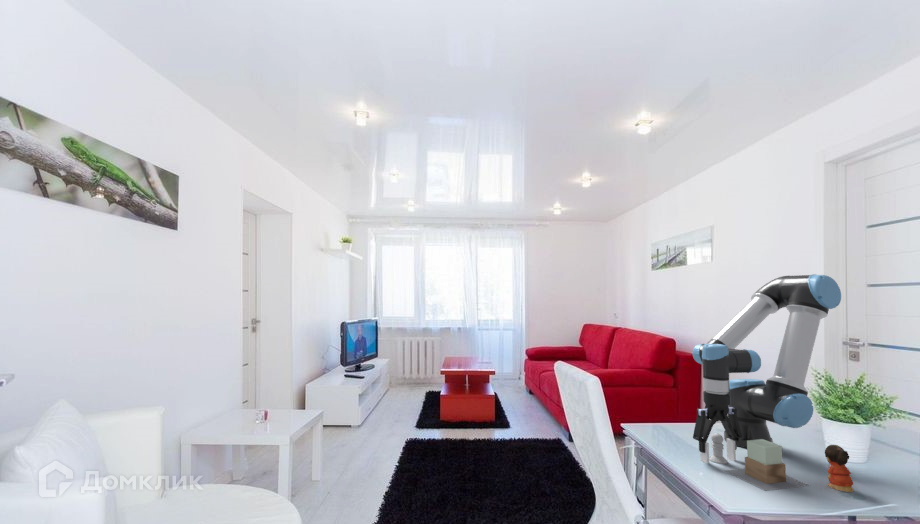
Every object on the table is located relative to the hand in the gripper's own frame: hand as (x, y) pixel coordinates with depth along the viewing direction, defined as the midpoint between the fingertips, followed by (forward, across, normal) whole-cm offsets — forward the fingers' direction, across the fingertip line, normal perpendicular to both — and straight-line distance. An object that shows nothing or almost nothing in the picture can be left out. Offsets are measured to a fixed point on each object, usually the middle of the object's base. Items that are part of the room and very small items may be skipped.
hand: (718, 461), depth 141 cm
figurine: (0, -18, +24) cm, 30 cm away
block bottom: (0, -3, +14) cm, 14 cm away
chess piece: (0, 0, 0) cm, 0 cm away
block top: (-5, -3, +14) cm, 15 cm away
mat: (0, -3, +14) cm, 14 cm away
